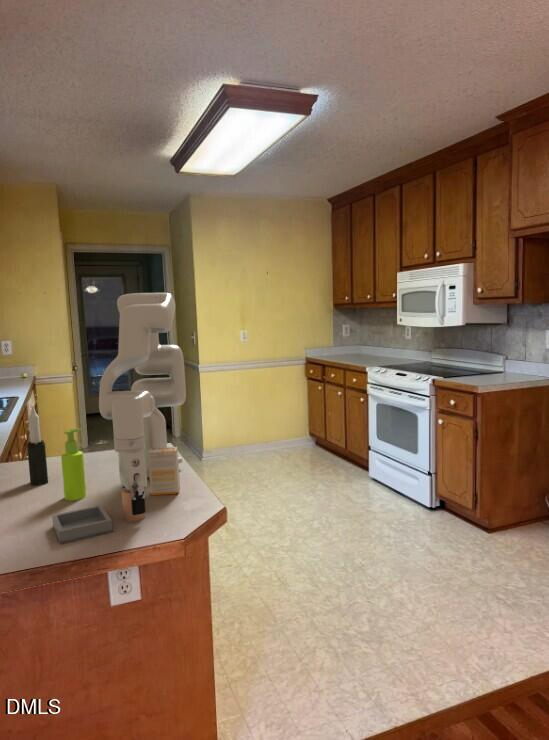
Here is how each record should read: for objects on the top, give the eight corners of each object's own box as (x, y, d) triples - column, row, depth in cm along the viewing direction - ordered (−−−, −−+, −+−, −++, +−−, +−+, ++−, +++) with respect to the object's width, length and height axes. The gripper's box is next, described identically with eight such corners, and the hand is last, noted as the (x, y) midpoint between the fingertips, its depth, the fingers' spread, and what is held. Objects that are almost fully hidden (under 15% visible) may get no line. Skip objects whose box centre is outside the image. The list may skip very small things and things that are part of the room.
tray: (101, 516, 137) (101, 505, 137) (112, 531, 127) (111, 520, 126) (53, 526, 131) (52, 515, 131) (59, 544, 121) (58, 531, 120)
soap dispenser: (93, 493, 155) (88, 427, 152) (75, 501, 148) (69, 433, 146) (78, 491, 157) (73, 426, 155) (60, 499, 151) (54, 431, 149)
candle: (31, 486, 164) (24, 408, 161) (30, 481, 168) (23, 405, 165) (48, 483, 166) (41, 406, 163) (47, 479, 170) (40, 403, 168)
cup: (142, 511, 139) (140, 482, 138) (148, 518, 134) (146, 488, 133) (121, 516, 136) (118, 487, 135) (126, 523, 132) (124, 493, 131)
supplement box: (180, 488, 156) (178, 446, 155) (178, 494, 152) (176, 450, 150) (152, 490, 156) (150, 447, 155) (150, 495, 151) (147, 452, 150)
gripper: (154, 448, 128) (158, 515, 129) (135, 435, 142) (138, 495, 144) (123, 453, 124) (127, 522, 126) (107, 439, 139) (111, 501, 141)
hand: (133, 508), depth 135 cm, fingers open, 9 cm apart
